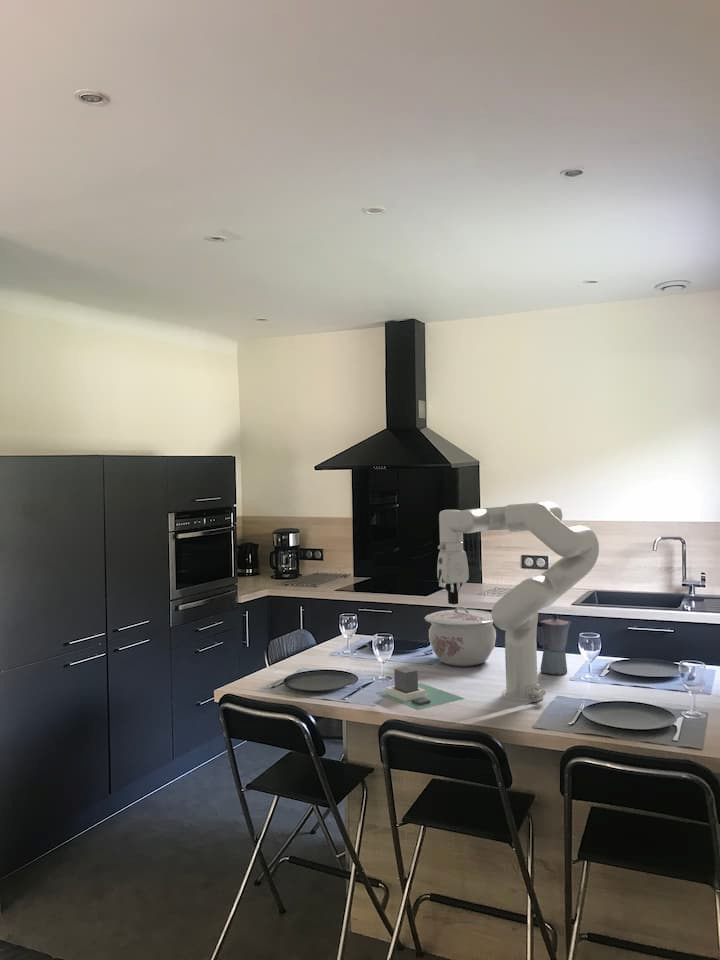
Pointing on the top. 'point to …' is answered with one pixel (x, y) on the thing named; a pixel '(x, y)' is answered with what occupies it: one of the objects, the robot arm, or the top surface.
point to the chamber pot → (462, 636)
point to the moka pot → (554, 645)
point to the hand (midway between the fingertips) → (453, 603)
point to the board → (420, 696)
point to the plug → (406, 679)
